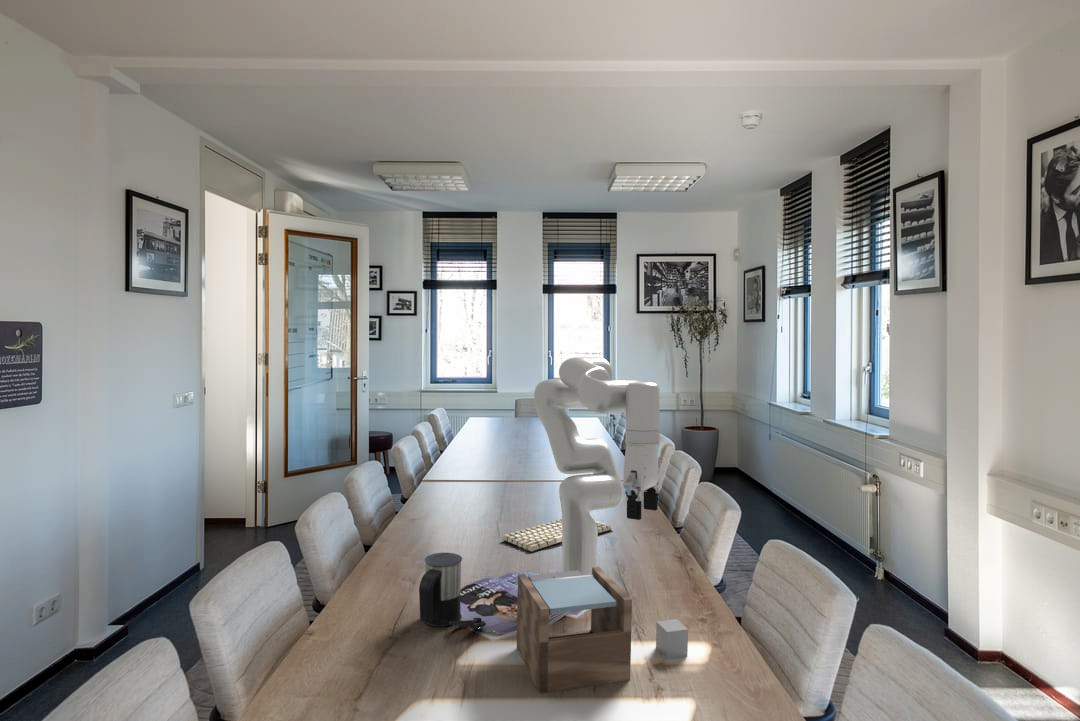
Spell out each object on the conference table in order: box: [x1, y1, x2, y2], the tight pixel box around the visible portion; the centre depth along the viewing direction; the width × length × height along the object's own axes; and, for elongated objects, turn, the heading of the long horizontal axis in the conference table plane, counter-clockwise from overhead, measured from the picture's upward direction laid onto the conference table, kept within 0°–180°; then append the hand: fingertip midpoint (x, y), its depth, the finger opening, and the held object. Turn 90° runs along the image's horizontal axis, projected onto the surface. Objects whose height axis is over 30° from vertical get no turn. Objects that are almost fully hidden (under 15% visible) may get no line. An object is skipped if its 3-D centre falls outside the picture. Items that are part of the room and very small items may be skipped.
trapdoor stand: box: [516, 566, 633, 694], centre depth 132 cm, size 18×19×16 cm
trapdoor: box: [527, 570, 616, 615], centre depth 135 cm, size 20×15×6 cm
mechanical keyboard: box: [502, 518, 614, 553], centre depth 216 cm, size 38×19×3 cm, turn 134°
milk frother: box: [418, 552, 487, 630], centre depth 149 cm, size 14×16×15 cm
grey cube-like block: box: [655, 618, 689, 660], centre depth 138 cm, size 5×5×6 cm
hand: (642, 514), depth 140 cm, fingers open, 9 cm apart
